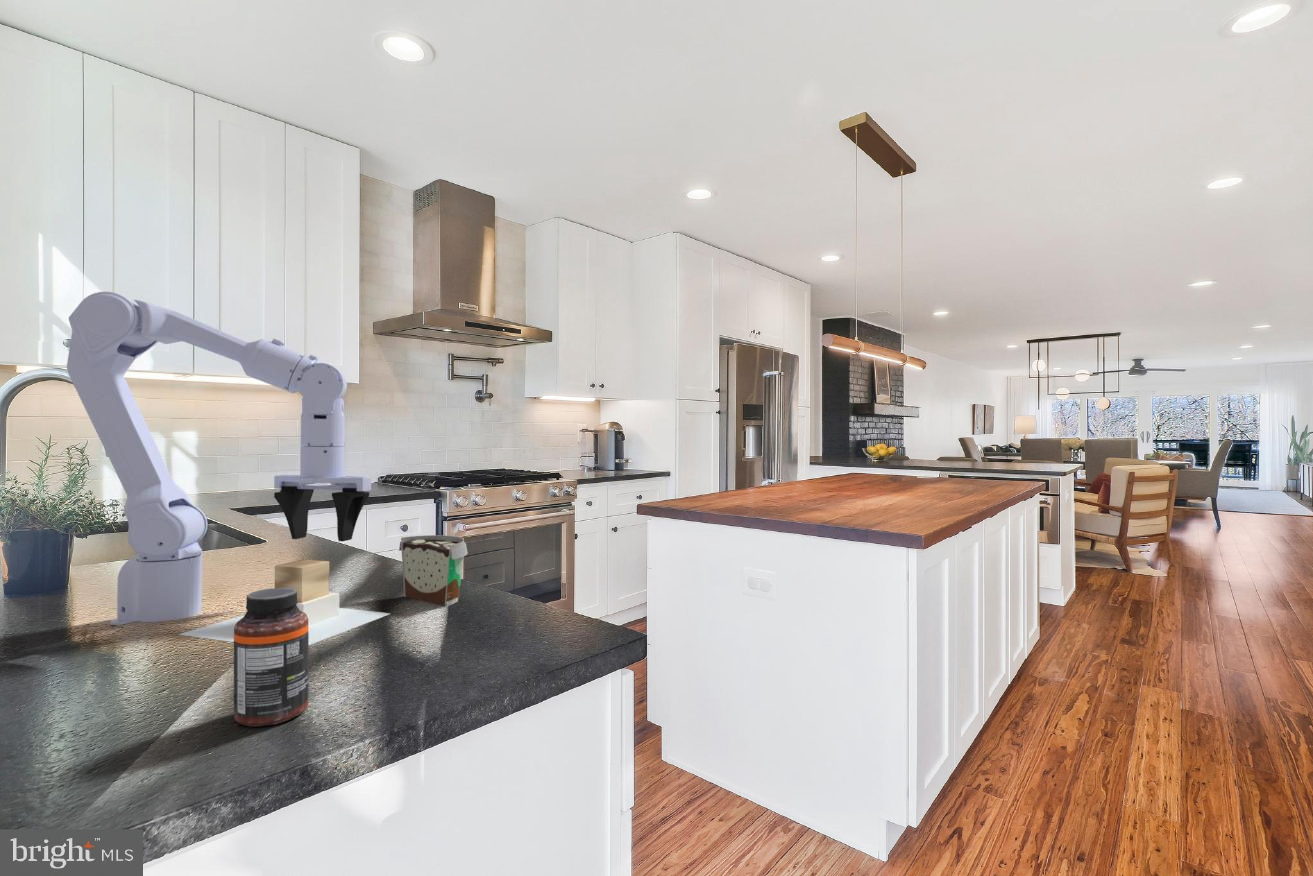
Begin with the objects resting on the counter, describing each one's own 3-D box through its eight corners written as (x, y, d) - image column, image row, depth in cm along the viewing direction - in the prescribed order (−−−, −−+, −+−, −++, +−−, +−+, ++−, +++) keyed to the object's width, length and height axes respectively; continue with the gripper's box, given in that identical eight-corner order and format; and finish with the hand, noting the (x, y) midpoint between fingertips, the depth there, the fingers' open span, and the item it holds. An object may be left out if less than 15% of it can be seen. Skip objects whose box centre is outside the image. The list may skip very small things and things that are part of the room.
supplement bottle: (255, 702, 61) (256, 584, 61) (319, 700, 62) (321, 584, 62) (218, 730, 55) (219, 600, 55) (289, 728, 56) (291, 600, 56)
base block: (266, 623, 83) (266, 600, 83) (304, 611, 89) (304, 589, 89) (303, 627, 81) (303, 604, 81) (339, 615, 87) (339, 593, 87)
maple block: (274, 599, 83) (274, 565, 83) (302, 591, 88) (302, 559, 88) (301, 602, 82) (302, 568, 82) (329, 594, 86) (329, 561, 86)
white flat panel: (178, 642, 78) (178, 634, 78) (288, 609, 94) (288, 602, 94) (294, 659, 73) (294, 650, 73) (390, 620, 88) (390, 613, 88)
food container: (484, 605, 97) (485, 539, 97) (452, 614, 92) (452, 545, 92) (431, 593, 104) (432, 532, 103) (398, 602, 98) (399, 537, 98)
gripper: (257, 445, 90) (257, 541, 90) (349, 447, 88) (348, 545, 88) (294, 445, 97) (294, 534, 97) (380, 446, 95) (379, 537, 95)
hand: (321, 539), depth 93 cm, fingers open, 7 cm apart
